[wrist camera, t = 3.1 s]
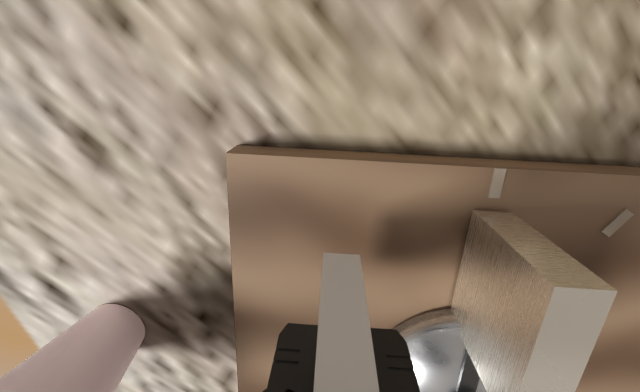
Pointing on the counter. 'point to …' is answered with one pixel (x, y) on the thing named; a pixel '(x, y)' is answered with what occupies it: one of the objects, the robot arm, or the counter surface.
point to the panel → (417, 239)
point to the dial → (510, 315)
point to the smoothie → (82, 355)
